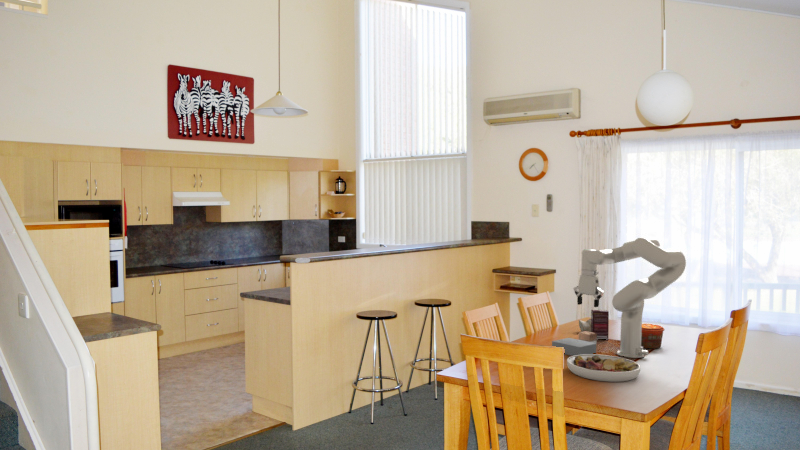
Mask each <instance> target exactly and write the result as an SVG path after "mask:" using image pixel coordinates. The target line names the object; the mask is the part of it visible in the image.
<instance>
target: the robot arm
mask: <svg viewBox="0 0 800 450" xmlns="http://www.w3.org/2000/svg"><path fill="white" fill-rule="evenodd" d="M660 246H661V245H660V242H659V240H658V239H657V238H655V237H652V236H642V237H637V238H636V239H635V240H631V241H628V242H624V243H623V244H622V245H621V246H618V247H615V248H611V249H610V248H609V249H599V250H598V249H597V250H596V249H592V248H591V249H590V248H587V249H586V248H585V249H583V250H582V251H581V271H580V272H581V274H580V275H579V279H578V285H576V286H575V287H573V288H572V289H573V292H574V294H575V295H576V298H577V305H582V304H583V295H587V296H592V297H593V298H594V300H593V307H594V308H599V305H600V300H601V298H602V297H603V296H604V293H605V291H604V290H602V289H601V288H600V280H599V276H598V275H599V271H597V266H602V265H603V266H604V265H613V264H617V263H621V262H626V261H630V260H634V259H638V258H642V259H643V260H645V261H646V262H648V263H650V264H652V265H653V266H655V267H657V268H659V269H658V270H656V271H655V272H653V273H652V274H650V275H649V276H647V277H646V278H642V279H636V280H633V281H631V282H630V283H628V284H627V285H626V286H624V287H623V288H622V289H621V290H619V291H617V292H616V293H615V295H614V296H613V297H612V301H611V304H612V308H614V309H615V310H616V311H617V312H621V315H620V316H621V317H620V346H619V347H620V349H618V350H617V351H616V355H618V356H619V357H623V356H624V357H623V358H631V359H638V358H639V359H641V358H644V357H645V356H648V355H649V350H646V349H645V348H643V347H641V334H642V324H643V312H644V307H645V300H649V299H653V298H654V297H655V296H657V295H659V293H661V292H662V291H664V290H665V289H667V288H668V287H669V286H670V285H672V284H673V283H675V282H676V281H677V280H678V279H680V277H681V276H682V275H683V274H684V272H685V269H686V265H687V262H686V261H687V260H686V256H685V255H684V253H683V252H682V251H681V250H678V249H675V248H667V249H663V248H662V247H660Z"/></svg>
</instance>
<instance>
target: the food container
mask: <svg viewBox="0 0 800 450" xmlns="http://www.w3.org/2000/svg"><path fill="white" fill-rule="evenodd" d="M664 331H665V328H664V327H663V326H661V325H658V324H653V323H642V334H641V347H643V349H647V348H649V349H650V350H656V349H660V348H662V341H663V334H664Z"/></svg>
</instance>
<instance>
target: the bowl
mask: <svg viewBox="0 0 800 450" xmlns="http://www.w3.org/2000/svg"><path fill="white" fill-rule="evenodd" d="M566 365H567V368H568V369H569V371H570V372H571V373H573V374H574V375H576V376H578V377H581V378H584V379H588V380H591V381H593V380H594V381H599V382H609V383H610V382H611V383H618V382H619V383H621V382H623V383H624V382H629V381H631V380H634V379H636V378H637V377H639V375H640V373H641V365H640V364H639V363H638V362H636V361H634V360H631V359H627V358H626V357H621V356H614V355H608V354H607V355H606V354H598V353H596V354H583V355H575V356H571V355H570V356H569V357H567V359H566Z"/></svg>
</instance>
